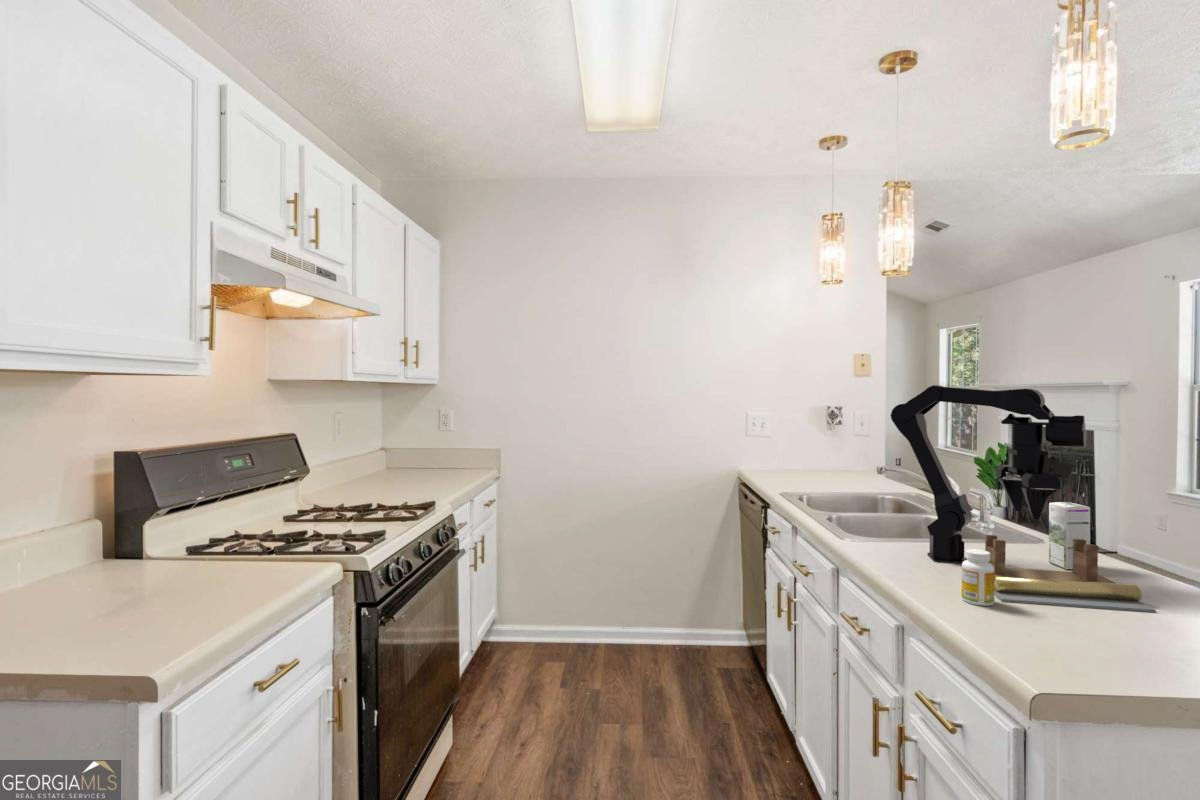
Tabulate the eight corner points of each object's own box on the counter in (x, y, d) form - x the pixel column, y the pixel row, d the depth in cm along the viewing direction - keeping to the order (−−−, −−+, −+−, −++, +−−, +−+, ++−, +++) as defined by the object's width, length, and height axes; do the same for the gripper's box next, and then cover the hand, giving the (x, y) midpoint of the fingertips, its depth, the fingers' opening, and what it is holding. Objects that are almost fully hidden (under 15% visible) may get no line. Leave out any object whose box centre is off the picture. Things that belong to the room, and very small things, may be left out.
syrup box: (1091, 570, 139) (1092, 506, 138) (1065, 570, 139) (1065, 506, 138) (1072, 563, 144) (1073, 501, 144) (1047, 563, 144) (1047, 501, 144)
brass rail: (997, 593, 121) (998, 578, 121) (992, 588, 124) (992, 573, 124) (1140, 603, 116) (1141, 588, 116) (1131, 597, 119) (1131, 582, 118)
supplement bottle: (989, 598, 120) (990, 549, 120) (997, 607, 115) (998, 556, 115) (958, 595, 122) (959, 547, 122) (965, 604, 117) (965, 553, 116)
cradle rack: (980, 579, 132) (980, 540, 132) (969, 570, 139) (969, 533, 139) (1116, 588, 126) (1116, 547, 126) (1097, 577, 133) (1098, 539, 133)
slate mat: (1001, 601, 118) (1001, 598, 118) (982, 585, 128) (982, 583, 128) (1155, 612, 112) (1155, 609, 112) (1123, 594, 122) (1123, 592, 122)
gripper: (1091, 449, 125) (1091, 525, 125) (1048, 442, 143) (1048, 508, 143) (1029, 448, 128) (1029, 523, 128) (995, 441, 146) (994, 506, 146)
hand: (1026, 514), depth 136 cm, fingers open, 9 cm apart
